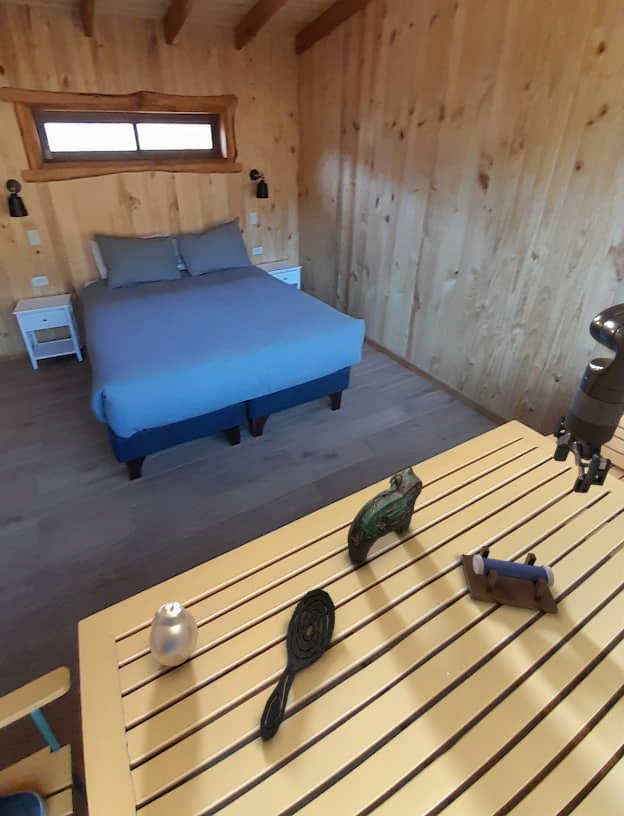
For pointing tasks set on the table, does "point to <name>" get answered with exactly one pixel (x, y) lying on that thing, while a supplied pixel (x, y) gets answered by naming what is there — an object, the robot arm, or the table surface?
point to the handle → (513, 569)
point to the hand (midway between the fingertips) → (568, 475)
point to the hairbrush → (300, 651)
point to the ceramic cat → (384, 514)
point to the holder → (508, 586)
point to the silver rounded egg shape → (172, 634)
